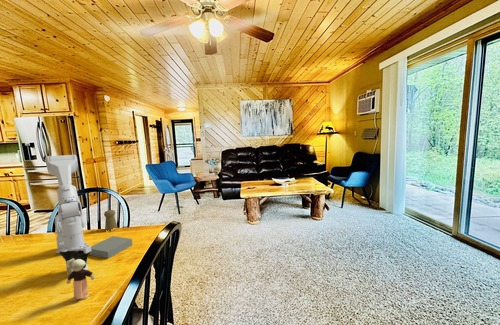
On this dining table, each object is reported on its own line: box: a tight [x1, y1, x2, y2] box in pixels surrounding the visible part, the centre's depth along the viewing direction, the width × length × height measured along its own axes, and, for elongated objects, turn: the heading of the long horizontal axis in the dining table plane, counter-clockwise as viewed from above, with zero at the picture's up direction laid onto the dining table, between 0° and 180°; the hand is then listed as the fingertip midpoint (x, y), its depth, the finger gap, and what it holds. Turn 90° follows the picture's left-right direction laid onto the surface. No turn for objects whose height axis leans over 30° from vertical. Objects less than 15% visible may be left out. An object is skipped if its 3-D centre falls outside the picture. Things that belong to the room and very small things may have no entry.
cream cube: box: [65, 258, 89, 276], centre depth 80 cm, size 4×4×5 cm
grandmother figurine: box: [65, 259, 96, 302], centre depth 66 cm, size 8×4×13 cm, turn 114°
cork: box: [103, 209, 119, 232], centre depth 118 cm, size 6×6×11 cm
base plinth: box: [88, 235, 133, 259], centre depth 96 cm, size 12×12×3 cm
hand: (77, 267), depth 80 cm, fingers closed on cream cube, 4 cm apart
